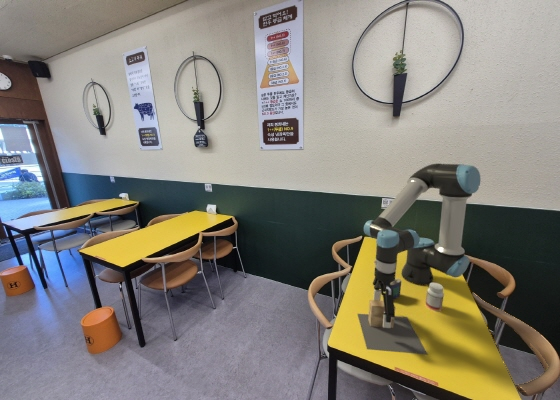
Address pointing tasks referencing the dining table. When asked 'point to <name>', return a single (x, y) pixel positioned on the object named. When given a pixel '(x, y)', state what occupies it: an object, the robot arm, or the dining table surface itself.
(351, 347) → the dining table surface
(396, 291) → the flask
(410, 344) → the mat
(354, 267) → the dining table surface
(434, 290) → the pill bottle
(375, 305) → the oak tile
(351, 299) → the dining table surface
